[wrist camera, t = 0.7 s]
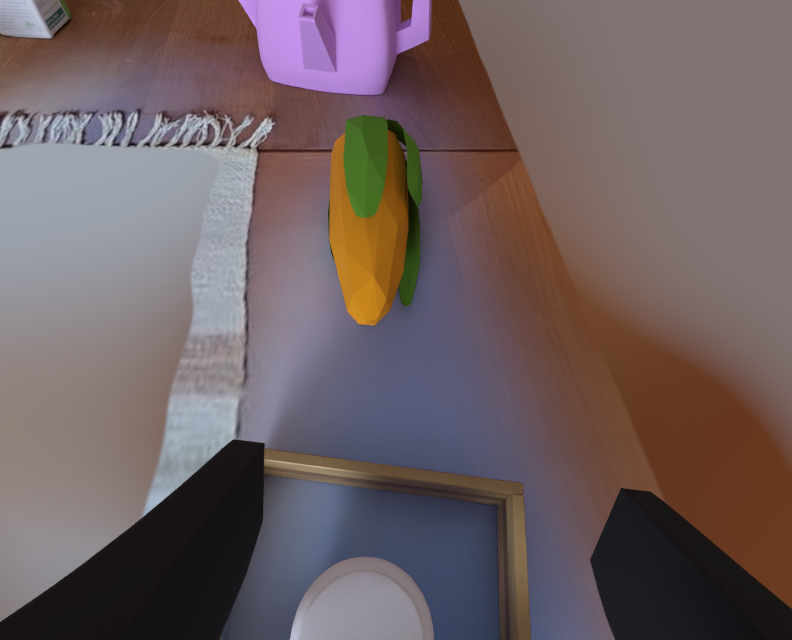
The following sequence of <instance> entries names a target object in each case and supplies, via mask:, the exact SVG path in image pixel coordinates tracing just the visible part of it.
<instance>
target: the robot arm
mask: <svg viewBox="0 0 792 640" xmlns="http://www.w3.org/2000/svg"><path fill="white" fill-rule="evenodd" d="M264 446H265V443H258V442H250V441H242V440H232V441H231V442H229V443H228V444H227V445H226V446H225V447H223V448H222V449H221V450H220V451H219V452H218V453H217V454H216V455H215V456H213V457H212V458H211V459H210V460H209V461H208V462H207V463H206V464H205V465H203V466H202V467H201V468H200V469H199V470H198V471H197V472H196V473H194V474H193V475H192V476H191V477H190V478H189V479H188V480H186V481H185V482H184V483H183V484H182V485H181V486H180V487H178V488H177V489H176V490H175V491H174V492H172V493H171V494H170V495H169V496H168V497H167V498H165V499H164V500H163V501H162V502H161V503H159V504H158V505H157V506H156V507H155V508H153V509H152V510H151V511H150V512H149V513H147V514H146V515H145V516H144V517H143V518H141V519H140V520H139V521H138V522H136V523H135V524H134V525H133V526H131V527H130V528H129V529H128V530H126V531H125V532H124V533H122V534H121V535H120V536H119V537H117V538H116V539H115V540H113V541H112V542H111V543H109V544H108V545H107V546H106V547H104V548H103V549H102V550H100V551H99V552H98V553H96V554H95V555H94V556H93V557H91V558H90V559H89V560H88V561H86V562H85V563H83V564H82V565H81V566H80V567H78V568H77V569H75V570H74V571H73V572H71V573H70V574H68V575H67V576H66V577H64V578H63V579H62V580H60V581H59V582H57V583H56V584H55V585H53V586H52V587H50V588H49V589H48V590H47V591H45V592H43V593H42V594H40V595H39V596H38V597H36V598H35V599H33V600H32V601H30V602H29V603H27V604H26V605H24V606H23V607H22V608H20V609H19V610H17V611H16V612H14V613H13V614H11V615H10V616H8V617H7V618H5V619H4V620H2V621H1V622H0V640H218V639H219V637H220V635H221V632H222V630H223V628H224V625H225V623H226V621H227V618H228V616H229V613H230V611H231V609H232V606H233V604H234V602H235V599H236V597H237V595H238V592H239V590H240V587H241V585H242V583H243V580H244V578H245V575H246V573H247V570H248V567H249V563H250V560H251V557H252V554H253V551H254V548H255V544H256V541H257V538H258V534H259V531H260V528H261V524H262V521H263V488H264ZM590 561H591V565H592V569H593V573H594V577H595V580H596V584H597V588H598V591H599V595H600V598H601V601H602V605H603V608H604V611H605V615H606V617H607V620H608V623H609V625H610V628H611V630H612V633H613V635H614V638H615V640H792V609H791V608H790V607H788V606H787V605H786V604H785V603H784V602H782V601H781V600H780V599H779V598H778V597H776V596H775V595H774V594H773V593H772V592H771V591H769V590H768V589H767V588H766V587H764V586H763V585H762V584H761V583H760V582H759V581H757V580H756V579H755V578H754V577H753V576H751V575H750V574H749V573H748V572H747V571H745V570H744V569H743V568H742V567H741V566H740V565H738V564H737V563H736V562H735V561H734V560H733V559H731V558H730V557H729V556H728V555H727V554H725V553H724V552H723V551H722V550H721V549H720V548H718V547H717V546H716V545H715V544H714V543H713V542H711V541H710V540H709V539H708V538H707V537H706V536H704V535H703V534H702V533H701V532H700V531H698V530H697V529H696V528H695V527H694V526H693V525H691V524H690V523H689V522H688V521H686V520H685V519H684V518H683V517H682V516H681V515H679V514H678V513H677V512H676V511H675V510H673V509H672V508H671V507H670V506H668V505H667V504H666V503H665V502H663V501H662V500H661V499H660V498H658V497H657V496H656V495H654V494H653V493H652V492H648V491H640V490H632V489H624V488H621V490H620V492H619V494H618V496H617V499H616V501H615V503H614V506H613V508H612V510H611V513H610V515H609V517H608V520H607V522H606V524H605V527H604V529H603V531H602V533H601V536H600V538H599V540H598V543H597V545H596V547H595V550H594V552H593V554H592V557H591V559H590Z"/></svg>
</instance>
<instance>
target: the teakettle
mask: <svg viewBox="0 0 792 640" xmlns="http://www.w3.org/2000/svg"><path fill="white" fill-rule="evenodd" d="M239 1H240V3H241V5H242V6H243V8H244V9H245V11H246V13H247V14H248V16H249V17H250V19H251V21H252V22H253V24H254V25H255V27H256V29H257V36H258V45H259V52H260V58H261V61H262V64H263V66H264V69H265V71H266V73H267V75H268V77H269V79H270V80H272V81H274V82H277V83H280V84H285V85H289V86H294V87H300V88H305V89H310V90H316V91H323V92H331V93H343V94H356V95H380V94H383V92H384V91H385V89H386V87H387V84H388V82H389V79H390V76H391V73H392V70H393V67H394V64H395V61H396V57H397V54H399V53H401V52H403V51H406V50H408V49H410V48H412V47H414V46H417V45H419V44H421V43H423V42H425V41H427V40H429V37H430V33H431V5H432V0H413V8H412V18H411V19H409V20H407V21H404V22H402V23H401V1H400V0H239Z"/></svg>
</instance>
